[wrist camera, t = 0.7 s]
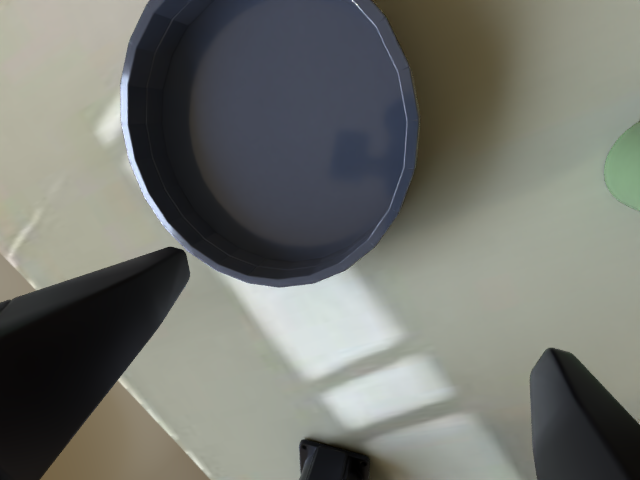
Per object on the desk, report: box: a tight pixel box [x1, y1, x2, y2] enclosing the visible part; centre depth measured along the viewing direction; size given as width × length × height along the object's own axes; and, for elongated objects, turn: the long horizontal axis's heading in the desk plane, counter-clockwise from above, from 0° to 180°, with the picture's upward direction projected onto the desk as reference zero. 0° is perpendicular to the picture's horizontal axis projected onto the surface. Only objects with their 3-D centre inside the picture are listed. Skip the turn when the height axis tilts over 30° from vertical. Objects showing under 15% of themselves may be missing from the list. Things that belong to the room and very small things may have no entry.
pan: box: [120, 0, 420, 287], centre depth 21 cm, size 18×18×4 cm
